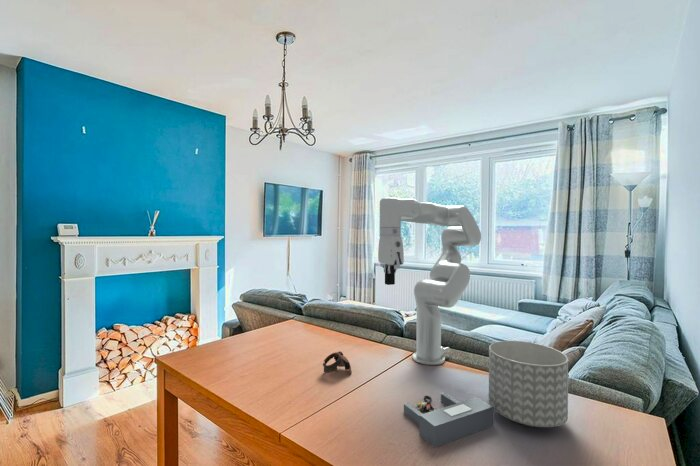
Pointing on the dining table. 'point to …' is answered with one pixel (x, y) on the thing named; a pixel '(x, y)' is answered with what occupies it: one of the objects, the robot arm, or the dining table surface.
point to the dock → (452, 419)
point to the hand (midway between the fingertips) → (389, 284)
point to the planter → (528, 383)
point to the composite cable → (425, 404)
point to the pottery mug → (336, 363)
